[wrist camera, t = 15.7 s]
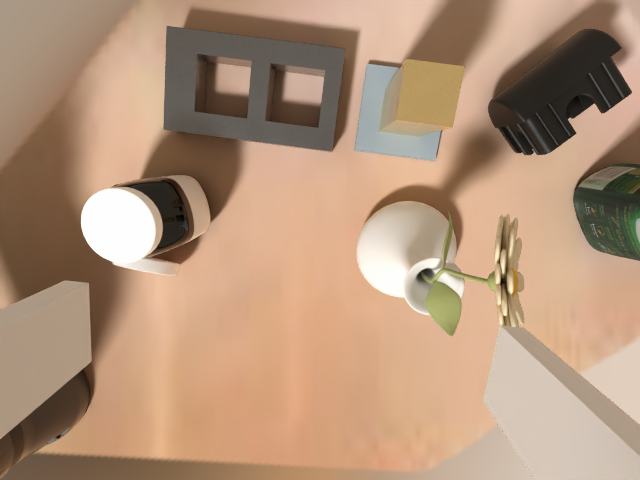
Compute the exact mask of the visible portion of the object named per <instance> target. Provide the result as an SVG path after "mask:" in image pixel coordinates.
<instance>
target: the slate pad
mask: <svg viewBox="0 0 640 480" xmlns="http://www.w3.org/2000/svg"><path fill="white" fill-rule="evenodd" d="M399 69H400V68H398V67H390V66H382V65H375V64H367V68H366V75H365V82H364V89H363V96H362V102H361V109H360V116H359V123H358V130H357V137H356V143H355V151H362V152H370V153H377V154H385V155H392V156H400V157H408V158H415V159H423V160H430V161H435V159H436V154H437V149H438V144H439V138H440V133H441V131H437V132H434V133H430V134H426V135H423V136H419V137H417V136H409V135H402V134H394V133H387V132H379V125H380V119H381V112H382V106H383V100H384V94H385V89H386V87H387V86H388V84H389V83H390V81H391V80H392V79H393V77H394V76H395V74H396V73H397V71H398V70H399Z"/></svg>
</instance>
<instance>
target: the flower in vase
mask: <svg viewBox="0 0 640 480" xmlns="http://www.w3.org/2000/svg"><path fill="white" fill-rule="evenodd" d="M448 213H449V212H448ZM509 222H510V217H509V215H507V216H506V217H503V216H502V215H501V216H500V218H499V222H498V228H497V235H496V243H495V255H494V263H495V271H494V272H492V273H491V274H490V275H489V277H488V279H484V278H479V277H475V276H471V275H468V274H464V273H462V272H461V270H460V269H459V268H458V267H457V266H456V265H455V264H454V261H455V257H456V250H457V246H456V237H455V234H454V231H453V224H452V219H451V216H450V214H449V221H448V220H447V219H446V218H445V216H444V215H443V214H442V213H440V212H439V211H438V210H437V209H435V208H433V207H432V206H429V205H427V204H424V203H421V202H415V201H401V202H396V203H392V204H390V205H387V206H385V207H383V208H381V209H380V210H378V211H377V212H375V213H374V214H373V215H372V216H371V217H370V218H369V219H368V220H367V221H366V223H365V224H364V226H363V227H362V229H361V232H360V234H359V237H358V240H357V246H356V256H357V262H358V265H359V268H360V271H361V272H362V274H363V276H364V277H365V279H366V280H367V281H368V282H369V283H370V284H371V285H372V286H373V287H374V288H376V289H377V290H379V291H381V292H383V293H385V294H387V295H391V296H395V297H405V299H406V301H407V303H408V304H409V305H410V306H411V307H412V308H413V309H414V310H416V311H417V312H419V313H422V314H425V315H431V317H432V318H433V319H434V320H435V322H436V323H437V324H438V325H439V326H440V327H441V328H442V329H443V330H444V331H445V332H446V333H448V334H449V335H450V336H453V334H454V332H455V330H456V327H457V325H458V322H459V318H460V314H461V298H462V296H463V293H464V288H465V281H464V278H465V279H469V280H473V281H476V282H480V283H484V284H488V286H489V287H490V289H491V290H493V291H494V292H495V293H496V302H497V314H498V320H499V327H500V325H501V326H511V327H519V325H518V322H519V324H520V325H522V326H523V325H524V314H523V310H522V307H521V304H520V301H519V296H518V293H517V292H521V291H522V290H523V289H524V278H523V275H522V274H521V273H520V272H517V269H518V260H519V257H520V253H521V247H522V243H521V239H520V238H518V239H517V240H516V236H517V228H518V220H517V218H515V219H514V221H513V222H511V223H510V225H509Z"/></svg>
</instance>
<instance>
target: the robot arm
mask: <svg viewBox="0 0 640 480" xmlns="http://www.w3.org/2000/svg"><path fill="white" fill-rule="evenodd" d="M90 362H92V357H91V328H90V299H89V283H85V282H75V281H66V280H65V281H62V282H60V283H58V284H56V285H54V286H51V287H49V288H47V289H45V290H42V291H40V292H38V293H36V294H34V295H31V296H29V297H27V298H25V299H23V300H20V301H18V302H16V303H14V304H12V305H9V306H7V307H5V308H3V309H1V310H0V479H1V477H3V476H4V475H5V473H7V472H8V471H9V470H10V469H11V468H12V467H13V466H14V465H15V464H16V463H17V462H18V461H20V460H21V459H23V458H25V457H27V456H29V455H31V454H32V453H34V452H36V451H38V450H39V449H41V448H42V447H44V446H45V445H47V444H50V443H52V442H54V441H56V440H58V439H60V438H61V437H63V436H64V435H65V434H67V433H68V432H69V431H70V430H71V429H72V428H73V427H74V426H75V425H76V424H77V423H78V422H79V421H80V420H81V418H82V417H83V415H84V414H85V412H86V410H87V407H88V403H89V387H88V382H87V379H86V377H85V374H84V372H83V370H82V369H83V368H84V367H86V366H87V365H88V364H89V363H90ZM483 402H484V404H485V405H486V407H487V408H488V410H489V411H490V413H491V414H492V416H493V417H494V419H495V420H496V422H497V423H498V425H499V426H500V428H501V429H502V431H503V432H504V434H505V435H506V437H507V439H508V440H509V442H510V443H511V445H512V446H513V448H514V449H515V451H516V452H517V454H518V455H519V457H520V458H521V460H522V461H523V463H524V464H525V466H526V468H527V469H528V471H529V472H530V474H531V475H532V477H533V478H534V480H640V425H639V424H638V423H637V422H636V421H635V420H633V419H632V418H631V417H630V416H629V415H627V414H626V413H625V412H624V411H623V410H621V409H620V408H619V407H618V406H617V405H615V404H614V403H613V402H612V401H611V400H610V399H608V398H607V397H606V396H605V395H604V394H602V393H601V392H600V391H599V390H597V389H596V388H595V387H594V386H593V385H592V384H590V383H589V382H588V381H587V380H586V379H584V378H583V377H582V376H581V375H580V374H578V373H577V372H576V371H575V370H574V369H573V368H571V367H570V366H569V365H568V364H567V363H565V362H564V361H563V360H562V359H561V358H559V357H558V356H557V355H556V354H555V353H553V352H552V351H551V350H550V349H549V348H547V347H546V346H545V345H544V344H543V343H542V342H540V341H539V340H538V339H537V338H536V337H534V336H533V335H532V334H531V333H530V332H528V331H527V330H526V329H525V328H520V327H511V326H501V325H500V329H499V333H498V338H497V342H496V346H495V351H494V355H493V360H492V364H491V369H490V373H489V377H488V382H487V386H486V391H485V395H484V400H483Z"/></svg>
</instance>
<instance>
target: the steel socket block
mask: <svg viewBox="0 0 640 480" xmlns="http://www.w3.org/2000/svg"><path fill="white" fill-rule="evenodd" d="M344 58H345V49H343V48H336V47H328V46H320V45H312V44H304V43H296V42H289V41H281V40H273V39H265V38H257V37H249V36H242V35H234V34H226V33H218V32H210V31H203V30H195V29H187V28H179V27H171V26H167V33H166V66H165V99H164V130H170V131H176V132H184V133H191V134H199V135H206V136H214V137H221V138H229V139H237V140H244V141H252V142H259V143H267V144H274V145H282V146H290V147H297V148H305V149H312V150H320V151H327V152H332V148H333V141H334V133H335V125H336V118H337V110H338V103H339V95H340V88H341V80H342V73H343V65H344ZM207 62H215V63H222V64H230V65H238V66H246V67H251V77H250V89H249V102H248V114H247V118H239V117H232V116H224V115H216V114H209V113H205V97H206V79H207ZM275 70H277V71H284V72H292V73H300V74H308V75H315V76H323V77H324V85H323V94H322V102H321V110H320V118H319V126H318V128H315V127H308V126H300V125H293V124H285V123H277V122H270V121H271V111H272V100H273V89H274V79H275Z"/></svg>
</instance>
